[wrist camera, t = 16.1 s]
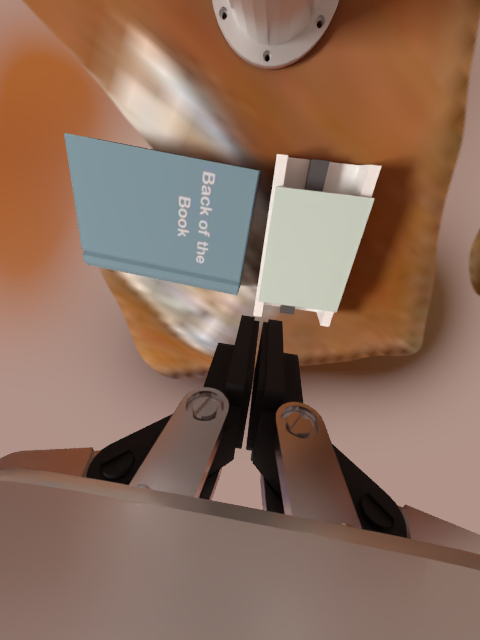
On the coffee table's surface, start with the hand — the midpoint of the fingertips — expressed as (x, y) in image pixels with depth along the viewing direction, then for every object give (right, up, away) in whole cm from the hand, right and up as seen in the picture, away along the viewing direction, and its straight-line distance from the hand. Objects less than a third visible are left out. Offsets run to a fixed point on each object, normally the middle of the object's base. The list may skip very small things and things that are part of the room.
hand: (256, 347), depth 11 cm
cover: (+8, +9, +21) cm, 25 cm away
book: (-10, +16, +27) cm, 33 cm away
